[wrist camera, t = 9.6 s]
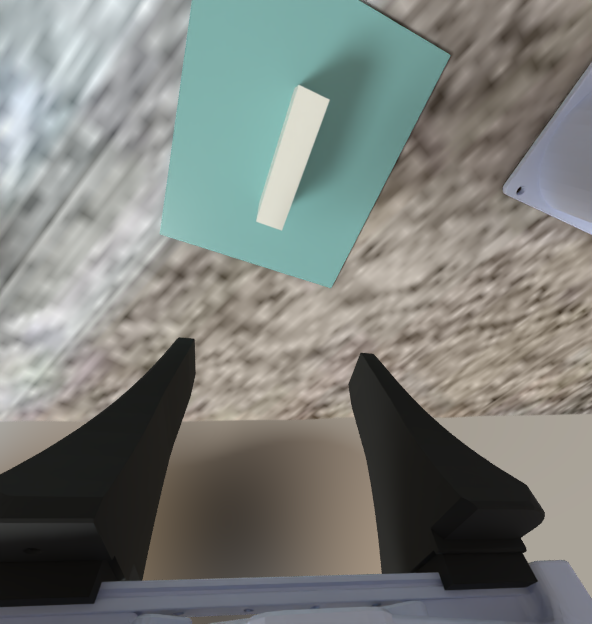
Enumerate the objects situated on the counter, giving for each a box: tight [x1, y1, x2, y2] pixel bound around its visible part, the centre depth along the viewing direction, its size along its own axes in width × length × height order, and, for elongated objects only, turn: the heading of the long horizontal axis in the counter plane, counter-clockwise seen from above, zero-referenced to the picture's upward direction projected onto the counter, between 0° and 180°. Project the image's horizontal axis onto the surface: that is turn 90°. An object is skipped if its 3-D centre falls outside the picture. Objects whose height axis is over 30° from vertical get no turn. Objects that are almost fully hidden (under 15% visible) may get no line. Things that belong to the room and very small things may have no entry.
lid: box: [160, 0, 451, 288], centre depth 16 cm, size 12×14×4 cm
